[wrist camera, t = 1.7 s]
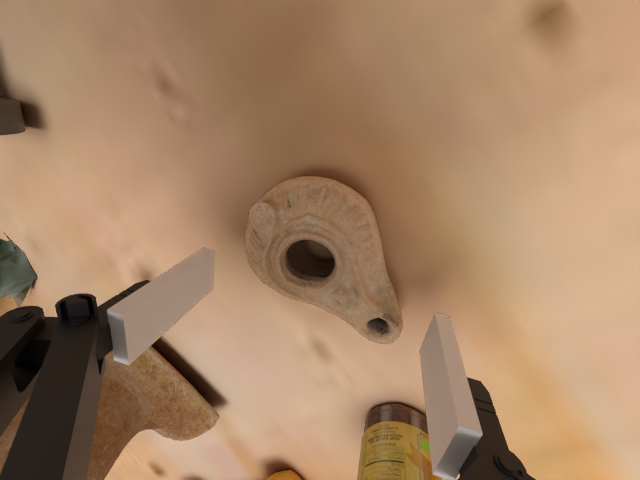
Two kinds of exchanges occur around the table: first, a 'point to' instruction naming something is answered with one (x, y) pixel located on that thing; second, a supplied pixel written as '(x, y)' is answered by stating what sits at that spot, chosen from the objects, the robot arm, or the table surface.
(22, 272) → the rose bouquet
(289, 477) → the dumbbell
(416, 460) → the sauce bottle
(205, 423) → the stone cup
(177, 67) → the table surface
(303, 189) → the pottery oil lamp
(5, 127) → the dolly
